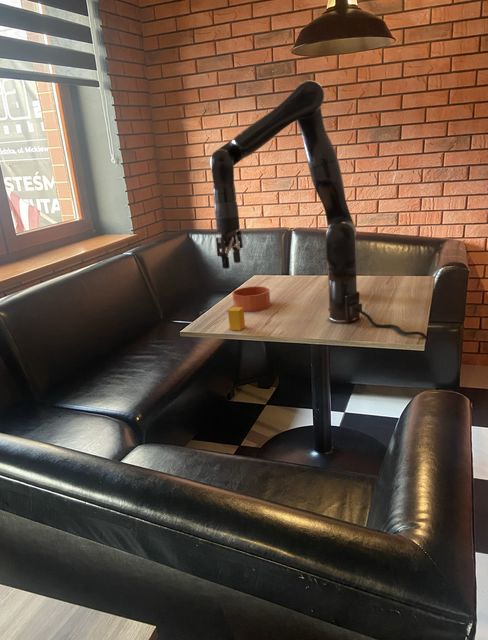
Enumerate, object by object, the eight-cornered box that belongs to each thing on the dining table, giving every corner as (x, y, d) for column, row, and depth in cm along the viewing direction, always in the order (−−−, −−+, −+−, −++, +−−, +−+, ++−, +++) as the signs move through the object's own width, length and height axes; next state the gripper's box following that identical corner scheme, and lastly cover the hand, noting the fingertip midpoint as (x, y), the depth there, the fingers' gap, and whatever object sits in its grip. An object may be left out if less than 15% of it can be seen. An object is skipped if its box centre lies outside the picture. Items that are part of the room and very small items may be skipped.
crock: (277, 304, 208) (276, 289, 205) (250, 313, 199) (249, 298, 197) (253, 299, 218) (252, 284, 216) (226, 307, 210) (225, 293, 208)
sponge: (245, 326, 186) (243, 307, 183) (240, 330, 182) (238, 310, 180) (234, 326, 188) (232, 306, 185) (229, 329, 184) (227, 310, 182)
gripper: (227, 218, 164) (232, 270, 170) (246, 211, 176) (250, 260, 181) (206, 219, 167) (212, 270, 173) (226, 212, 179) (231, 260, 185)
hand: (231, 265), depth 177 cm, fingers open, 8 cm apart
